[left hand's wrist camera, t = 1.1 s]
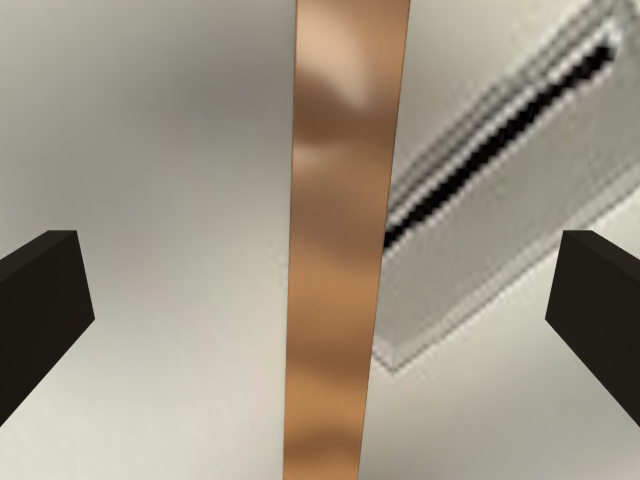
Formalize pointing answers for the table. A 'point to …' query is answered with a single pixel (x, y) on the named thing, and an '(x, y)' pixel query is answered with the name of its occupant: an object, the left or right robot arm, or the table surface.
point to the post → (337, 223)
